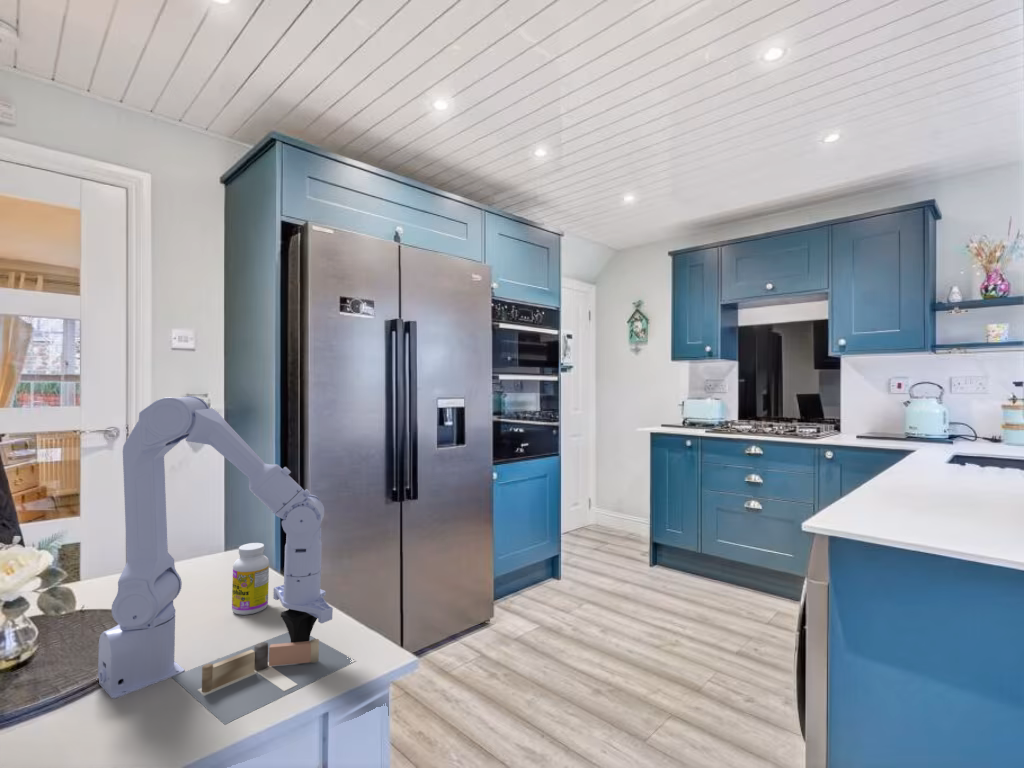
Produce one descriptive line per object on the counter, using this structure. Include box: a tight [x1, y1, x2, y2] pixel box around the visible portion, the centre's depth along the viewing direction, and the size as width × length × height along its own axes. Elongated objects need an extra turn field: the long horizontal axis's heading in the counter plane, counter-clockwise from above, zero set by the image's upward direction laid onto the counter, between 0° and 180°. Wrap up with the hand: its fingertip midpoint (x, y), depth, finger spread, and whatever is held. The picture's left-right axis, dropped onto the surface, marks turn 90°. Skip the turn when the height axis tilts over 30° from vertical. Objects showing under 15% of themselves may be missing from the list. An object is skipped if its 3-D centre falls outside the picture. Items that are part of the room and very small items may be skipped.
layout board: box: [171, 631, 355, 725], centre depth 84 cm, size 21×18×1 cm
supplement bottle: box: [231, 542, 270, 616], centre depth 107 cm, size 7×7×13 cm
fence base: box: [202, 641, 268, 692], centre depth 81 cm, size 10×2×4 cm, turn 143°
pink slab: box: [269, 638, 320, 666], centre depth 86 cm, size 8×1×3 cm, turn 103°
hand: (300, 652), depth 87 cm, fingers closed, pressing on pink slab
